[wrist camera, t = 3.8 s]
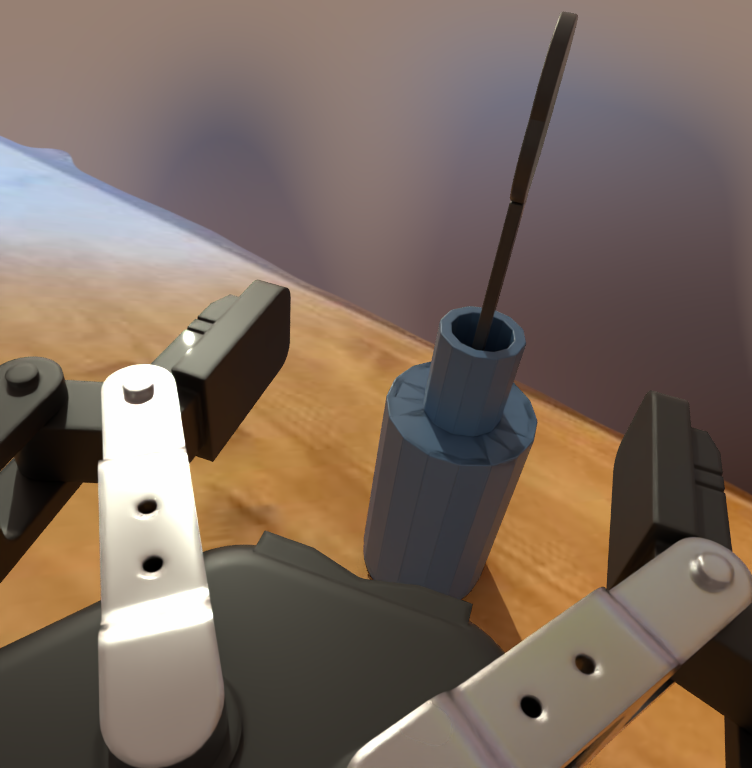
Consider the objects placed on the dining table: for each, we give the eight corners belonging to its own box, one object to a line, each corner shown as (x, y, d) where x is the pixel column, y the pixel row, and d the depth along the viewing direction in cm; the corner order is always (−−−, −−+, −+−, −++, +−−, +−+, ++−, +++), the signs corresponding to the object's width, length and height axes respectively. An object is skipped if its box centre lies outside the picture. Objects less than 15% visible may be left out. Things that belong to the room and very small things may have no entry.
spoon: (409, 578, 36) (552, 26, 17) (429, 518, 39) (567, -1, 20) (417, 581, 36) (570, 30, 17) (436, 521, 39) (583, 2, 20)
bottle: (344, 526, 38) (371, 300, 27) (442, 492, 41) (502, 274, 30) (398, 628, 34) (456, 406, 23) (504, 582, 37) (601, 364, 26)
